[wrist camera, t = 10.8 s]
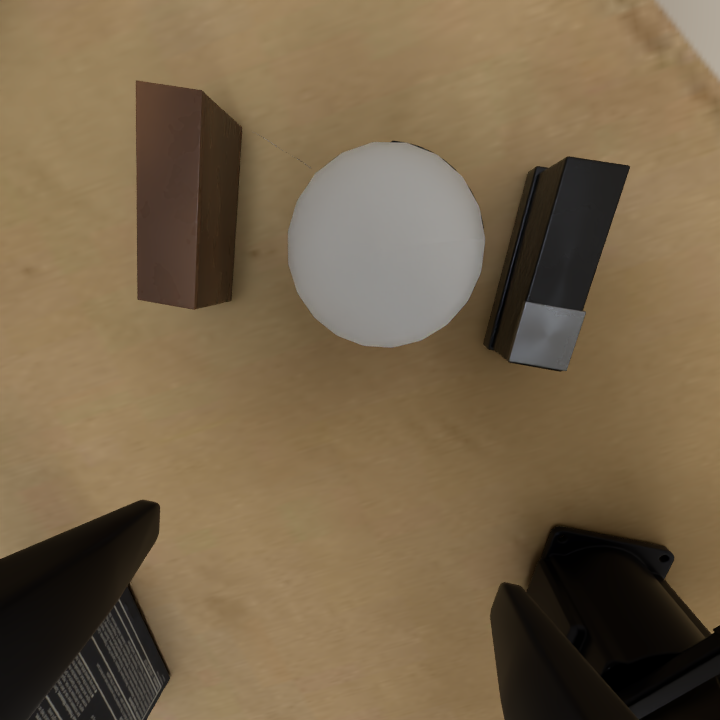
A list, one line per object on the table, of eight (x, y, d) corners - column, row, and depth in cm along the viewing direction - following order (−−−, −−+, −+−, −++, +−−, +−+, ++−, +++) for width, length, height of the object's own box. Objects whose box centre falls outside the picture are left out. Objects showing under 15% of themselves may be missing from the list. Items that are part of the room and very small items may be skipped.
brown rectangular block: (242, 127, 16) (202, 90, 13) (231, 301, 19) (194, 309, 15) (189, 118, 16) (135, 80, 13) (185, 293, 19) (137, 299, 15)
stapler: (585, 179, 16) (642, 155, 12) (532, 353, 18) (567, 376, 14) (527, 171, 16) (567, 143, 12) (482, 345, 18) (505, 365, 14)
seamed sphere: (496, 267, 17) (569, 268, 10) (372, 358, 19) (360, 415, 12) (366, 79, 16) (345, -77, 8) (244, 196, 17) (141, 148, 10)
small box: (36, 571, 25) (-212, 784, 15) (119, 560, 24) (-83, 780, 14) (96, 684, 27) (-79, 933, 17) (174, 678, 26) (37, 938, 16)
